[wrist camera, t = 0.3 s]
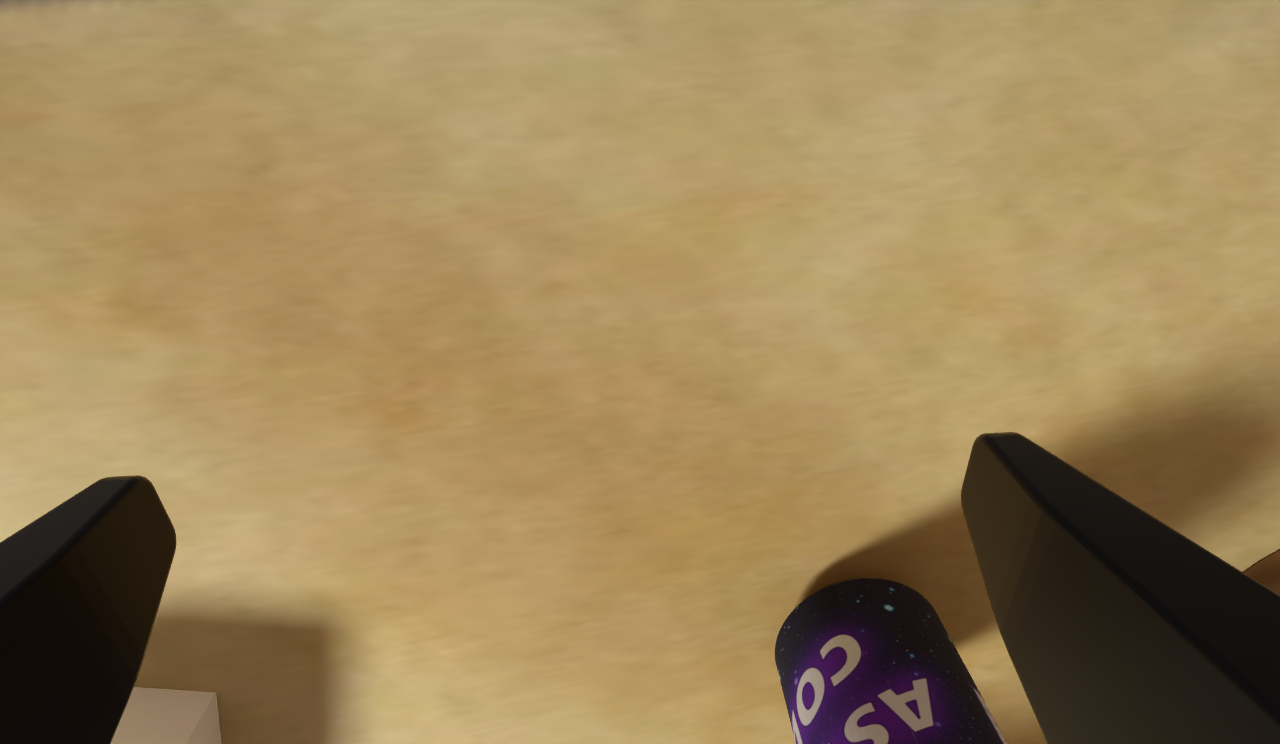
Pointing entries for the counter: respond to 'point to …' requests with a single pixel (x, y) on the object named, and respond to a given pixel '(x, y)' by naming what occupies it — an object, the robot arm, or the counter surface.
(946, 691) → the beverage can
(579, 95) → the counter surface
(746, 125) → the counter surface
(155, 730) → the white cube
